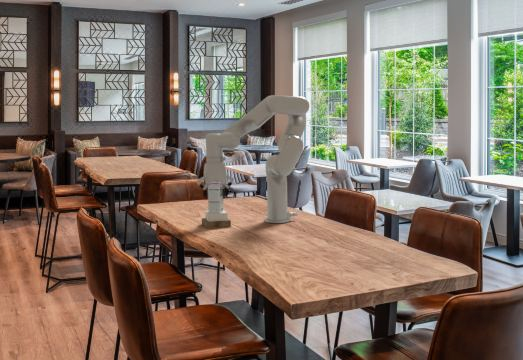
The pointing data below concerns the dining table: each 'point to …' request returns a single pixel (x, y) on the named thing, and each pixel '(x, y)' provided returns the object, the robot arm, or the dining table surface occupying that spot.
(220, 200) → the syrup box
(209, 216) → the white slab
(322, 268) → the dining table surface
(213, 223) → the walnut slab
